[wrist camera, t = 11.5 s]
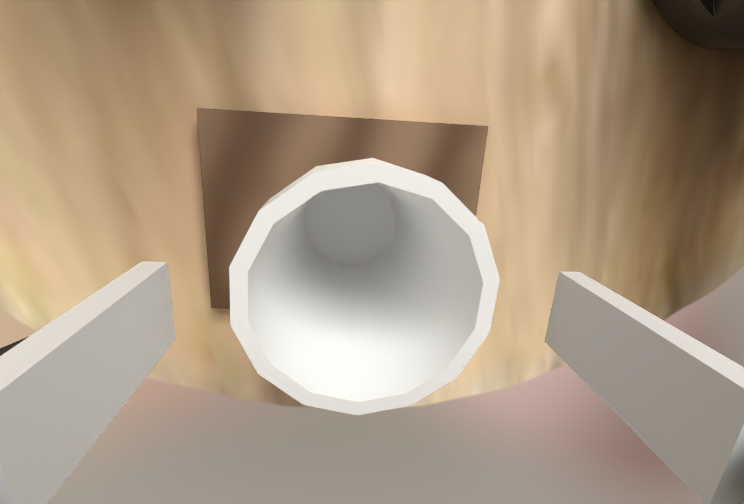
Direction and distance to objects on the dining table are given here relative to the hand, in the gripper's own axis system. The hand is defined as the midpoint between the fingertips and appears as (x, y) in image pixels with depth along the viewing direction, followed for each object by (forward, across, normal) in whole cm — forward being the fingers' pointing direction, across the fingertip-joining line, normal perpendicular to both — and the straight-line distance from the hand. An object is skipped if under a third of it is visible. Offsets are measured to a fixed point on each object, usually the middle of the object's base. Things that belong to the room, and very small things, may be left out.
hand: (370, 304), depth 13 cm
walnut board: (+15, +1, 0) cm, 15 cm away
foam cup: (+14, 0, 0) cm, 14 cm away
